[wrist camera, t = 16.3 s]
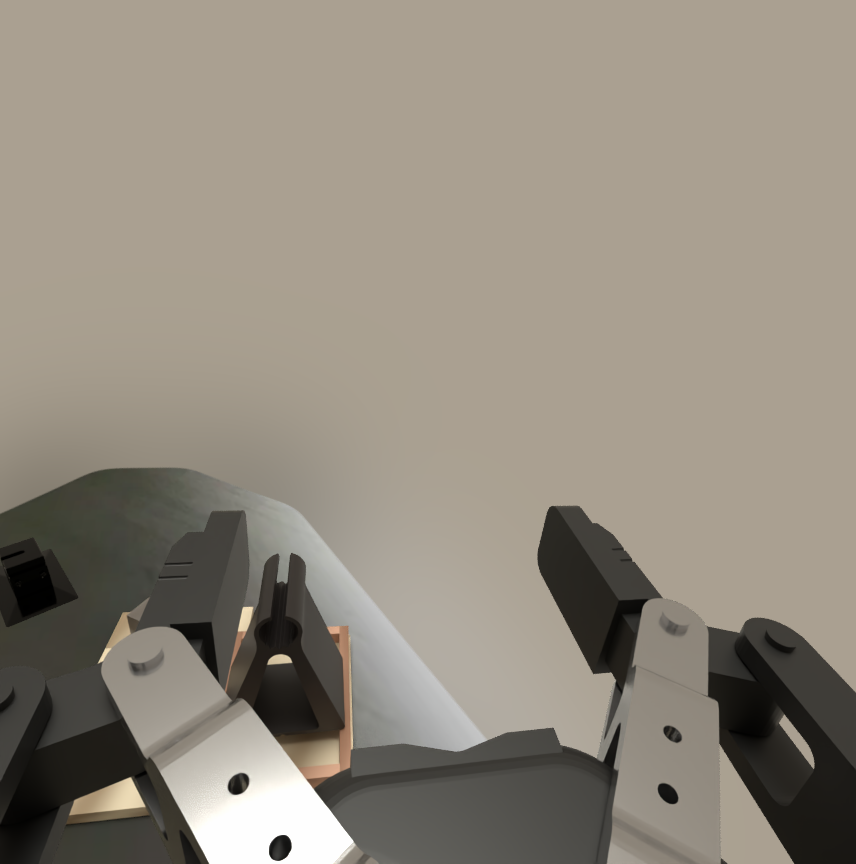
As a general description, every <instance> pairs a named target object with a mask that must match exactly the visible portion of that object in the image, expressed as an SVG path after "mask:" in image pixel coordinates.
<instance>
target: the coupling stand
mask: <svg viewBox="0 0 856 864" xmlns="http://www.w3.org/2000/svg"><path fill="white" fill-rule="evenodd" d="M149 598H150V597H149ZM149 598H148V599H146V600H145V601H144V602H143V603H141V604H140V605H139V606H138V607H136V608H135V609H134V610H133V611H131V612H125V613H123V614H122V616H121V618H120V620H119V622H118V624H117V626H116V628H115V630H114V632H113V634H112V636H111V638H110V640H109V642H108V644H107V646H106V648H105V651H104V653H103V655H102V657H101V659H100V661H99V663H100V662H102V661H104V658H105V657H106V655H107V653H108V652H109V651H110V650H111V649H112V647H113V646H114V645H116V644H117V643H118V642H119V641H121V640H122V639H123V638H125V637H127V636H128V635H130V634H132V633H134V632H135V630H136V627H137V625H138V623H139V621H140V618H141V616H142V614H143V612H144V609H145V607H146V605H147V603H148V600H149ZM253 615H254V612H253V607H243V609H242V614H241V618H240V623H239V628H238V633H237V637H236V642H235V647H234V651H233V656H232V661H231V665H230V670H231V666H232V664H233V661H234V659H235V657H236V654H237V652H238V650H239V647H240V645H241V643H242V640H243V638H244V636H245V634H246V631H247V629H248V627H249V624H250V622H251V620H252V617H253ZM327 628H328V630H329V632H330V634H331V636H332V638H333V640H334V642H335V644H336V646H337V648H338V650H339V652H340V654H341V656H342V658H343V681H344V710H345V728H344V729H342V730H334V731H325V732H316V733H307V734H298V735H289V736H285V735H284V734H283V735H281V736H279V737H274V738H275V739H276V741H277V742H278V743H279V744H280V746H281V747H282V748H283V750H284V751H285V752H286V754H287V755H288V756H289V758H290V759H291V760H292V762H293V763H294V764H295V766H296V767H297V768H298V770H299V771H300V772H301V773H302V775H303V776H304V777H305V779H306V780H307V781H308V783H309V784H310V785H311V787H312V788H313V789H314V788H315V787H316V786H318V785H319V784H320V783H322V782H323V781H325V780H326V779H328V778H329V777H331V776H333V775H335V774H337V773H338V772H341V771H343V770H345V769H348V768H350V756H351V749H353V733H352V694H351V655H350V635H348V626H336V627H327ZM283 663H292V661H291V659H290V657H288V656H286V655H282V654H280V655H275V656H273V657H271V658H270V659H269V661H268V664H267V665H270V664H283ZM230 670H229V675H230ZM229 675H228V679H227V684H226V689H225V693H226V691H227V685H228V680H229ZM146 815H149V813H148V811H147V809H146V807H145V805H144V803H143V801H142V799H141V797H140V795H139V793H138V791H137V789H136V787H135V785H134V783H133V781H132V779H131V777H130V778H127V779H125V780H122V781H120V782H118V783H115V784H113V785H110V786H108V787H105V788H103V789H100V790H98V791H96V792H93V793H91V794H88V795H86V796H83V797H81V798H78V799H76V800H74V803H73V806H72V809H71V812H70V814H69V817H68V820H67V823H66V824H75V823H84V822H93V821H101V820H110V819H119V818H128V817H137V816H146Z"/></svg>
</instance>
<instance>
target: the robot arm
mask: <svg viewBox="0 0 856 864" xmlns="http://www.w3.org/2000/svg"><path fill="white" fill-rule="evenodd" d="M538 566H539V570H540V573H541V575H542V577H543V578H544V580H545V582H546V584H547V586H548V588H549V590H550V592H551V594H552V596H553V598H554V600H555V602H556V603H557V605H558V607H559V609H560V611H561V613H562V615H563V617H564V618H565V621H566V623H567V625H568V626H569V628H570V630H571V632H572V634H573V636H574V638H575V640H576V642H577V644H578V645H579V647H580V649H581V651H582V653H583V655H584V657H585V659H586V661H587V663H588V665H589V666H590V669H591V670H592V672H593V674H599V673H610V672H612V674H613V676H614V677H615V682H614V685H613V688H612V691H611V696H610V700H609V705H608V710H607V714H606V719H605V724H604V729H603V734H602V738H601V742H600V747H599V752H598V755H597V759H596V758H595V757H593V756H591V755H589V754H586V753H584V752H581V751H579V750H577V749H573V748H570V747H566V746H562V745H560V743H559V740H558V738H557V735H556V733H555V730H554V728H546V729H537V730H528V731H519V732H509V733H505V734H502V735H500V736H498V737H495V738H493V739H490V740H488V741H486V742H483V743H481V744H478V745H476V746H474V747H471V748H469V749H466V750H464V751H460V752H453V751H447V750H441V749H434V748H428V747H421V746H415V745H409V744H396V745H387V746H378V747H368V748H359V749H351V756H350V768H348V769H345V770H343V771H341V772H338V773H337V774H335V775H333V776H331V777H329V778H328V779H326V780H325V781H323V782H322V783H320V784H319V785H318V786H316V787H315V788H314V789H313V788H312V787H311V785H310V784H309V783H308V781H307V780H306V779H305V777H304V776H303V775H302V773H301V772H300V771H299V770H298V768H297V767H296V766H295V764H294V763H293V762H292V760H291V759H290V758H289V756H288V755H287V754H286V752H285V751H284V750H283V748H282V747H281V746H280V744H279V743H278V742H277V741H276V739H275V738H274V737H273V735H272V734H271V733H270V731H269V730H268V729H267V727H266V726H265V725H264V723H263V722H262V721H261V719H260V718H259V717H258V716H257V714H256V713H255V712H254V710H253V709H252V708H251V706H250V705H249V704H248V703H247V702H246V701H245V700H244V699H242V698H237V699H236V700H234V701H232V700H231V699H230V698H229V697H228V695H227V694H226V693H225V689H226V684H227V679H228V675H229V670H230V665H231V661H232V656H233V651H234V647H235V642H236V637H237V633H238V628H239V623H240V618H241V614H242V609H243V604H244V600H245V595H246V590H247V586H248V579H249V550H248V537H247V524H246V514H245V511H212V512H211V514H210V517H209V520H208V522H207V525H206V528H205V531H204V532H188V533H186V534H185V535H184V536H183V537H182V538H181V539H180V540H179V541H178V542H177V543H176V544H175V545H173V546H172V548H171V550H170V553H169V555H168V557H167V559H166V562H165V566H163V568H162V571H161V573H160V575H159V580H157V582H156V584H155V587H154V589H153V591H152V593H151V596H150V598H149V600H148V603H147V605H146V607H145V609H144V612H143V614H142V616H141V618H140V621H139V623H138V625H137V627H136V630H135V632H134V633H132V634H130V635H128V636H127V637H125V638H123V639H122V640H121V641H119V642H118V643H117V644H116V645H114V646H113V647H112V649H111V650H110V651H109V652H108V653H107V655H106V657H105V658H104V661H102V662H100V663H98V664H96V665H94V666H91V667H88V668H85V669H82V670H79V671H76V672H73V673H69V674H66V675H63V676H60V677H56V678H53V679H50V680H47V681H45V678H44V676H43V674H42V673H41V672H40V671H39V670H37V669H35V668H32V667H28V666H12V667H6V668H2V669H0V864H52V862H53V859H54V856H55V854H56V851H57V848H58V845H59V842H60V840H61V837H62V834H63V831H64V828H65V826H66V823H67V820H68V817H69V814H70V812H71V809H72V806H73V803H74V800H76V799H78V798H81V797H83V796H86V795H88V794H91V793H93V792H96V791H98V790H100V789H103V788H105V787H108V786H110V785H113V784H115V783H118V782H120V781H122V780H125V779H127V778H130V777H131V779H132V781H133V783H134V785H135V787H136V789H137V791H138V793H139V795H140V797H141V799H142V801H143V803H144V805H145V807H146V809H147V811H148V813H149V815H150V817H151V819H152V821H153V823H154V825H155V827H156V829H157V831H158V833H159V835H160V837H161V839H162V841H163V843H164V845H165V847H166V850H167V852H168V854H169V856H170V858H171V861H172V863H173V864H727V863H726V862H725V861H724V860H723V859H721V847H720V775H719V774H720V771H719V770H720V768H719V744H720V745H721V747H722V748H723V750H724V752H725V753H726V755H727V757H728V758H729V760H730V761H731V763H732V764H733V766H734V768H735V769H736V771H737V773H738V774H739V776H740V777H741V779H742V781H743V782H744V784H745V785H746V787H747V789H748V790H749V792H750V793H751V795H752V797H753V798H754V800H755V801H756V803H757V805H758V806H759V808H760V809H761V811H762V813H763V814H764V816H765V817H766V819H767V821H768V822H769V824H770V825H771V827H772V829H773V830H774V832H775V833H776V835H777V837H778V838H779V840H780V842H781V843H782V845H783V846H784V848H785V849H786V851H787V853H788V854H789V856H790V858H791V859H792V861H793V862H794V864H856V693H855V691H853V689H852V688H851V687H850V686H849V685H848V684H847V683H846V682H845V681H844V680H843V679H842V678H841V677H840V676H839V675H838V674H837V672H836V671H835V670H833V668H832V667H831V666H830V665H829V664H828V663H827V662H826V661H825V660H824V659H823V658H822V657H821V656H820V655H819V654H818V653H817V651H816V650H815V649H814V648H813V647H812V646H811V645H810V644H809V643H808V642H807V641H806V640H805V639H804V638H803V637H802V636H800V635H799V634H798V633H796V632H795V631H793V630H792V629H790V628H788V627H787V626H785V625H783V624H781V623H778V622H776V621H773V620H769V619H765V618H751V619H749V620H747V621H746V622H745V624H744V625H743V627H742V629H741V631H740V633H737V632H732V631H726V630H721V629H717V628H712V627H707V626H706V625H705V623H704V621H703V620H702V619H701V618H700V617H699V616H698V615H697V614H696V613H695V612H694V611H692V610H691V609H689V608H688V607H686V606H684V605H683V604H680V603H678V602H676V601H673V600H668V599H663V598H662V597H661V595H660V594H659V593H658V591H657V590H656V589H655V588H654V586H653V585H652V584H651V582H650V581H649V580H648V579H647V578H646V576H645V575H644V574H643V572H642V571H641V570H640V569H639V567H638V566H637V565H636V563H635V562H632V558H631V557H630V556H629V554H628V553H627V552H626V551H624V549H623V547H622V545H621V544H620V543H619V542H618V540H617V539H616V538H615V536H614V535H613V534H611V533H610V532H609V531H607V530H606V529H604V528H603V527H602V526H600V525H599V524H597V523H592V522H591V521H590V520H589V518H588V517H587V515H586V514H585V513H584V511H583V510H582V509H581V508H580V507H579V506H551V507H550V508H549V509H548V512H547V515H546V519H545V523H544V528H543V532H542V536H541V540H540V544H539V548H538ZM784 714H785V715H786V717H787V718H788V719H789V721H790V722H791V723H792V724H793V726H794V727H795V728H796V730H797V731H798V732H799V733H800V734H801V736H802V737H803V738H804V740H805V741H806V742H807V744H808V745H809V747H810V749H811V751H812V754H813V757H814V763H815V768H814V769H813V768H812V767H811V765H810V764H809V763H808V761H807V760H806V759H805V758H804V756H803V755H802V753H801V752H800V751H799V749H798V748H797V747H796V745H795V744H794V743H793V741H792V740H791V739H790V738H789V736H788V735H787V734H786V732H785V731H784V730H783V728H782V727H781V726H780V724H779V722H780V720H781V718H782V717H783V715H784Z"/></svg>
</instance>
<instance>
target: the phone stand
mask: <svg viewBox="0 0 856 864" xmlns="http://www.w3.org/2000/svg"><path fill="white" fill-rule="evenodd" d="M278 564H279V554H276V555H273V556H272V557H270V558H269V559H268V560H267V561H266V563H265V566H264V572H263V578H262V585H261V591H260V597H259V604H258V606H257V608H256V610H255V613H254V615H253V617H252V620H251V622H250V624H249V627H248V629H247V631H246V634H245V636H244V638H243V640H242V643H241V645H240V647H239V650H238V652H237V654H236V657H235V659H234V661H233V664H232V666H231V670H230V675H229V680H228V685H227V691H226V694H227V695H228V697H229V698H230V699H231V700H232V701H234V700H236V699H237V698H242V699H244V700H245V701H246V702H247V703H248V704H249V705H250V706H251V708H252V709H253V710H254V712H255V713H256V714H257V716H258V717H259V718H260V719H261V721H262V722H263V723H264V725H265V726H266V727H267V729H268V730H269V731H270V733H271V734H272V735H273V737H279V736H281V735H283V734H284V735H285V736H289V735H298V734H307V733H316V732H325V731H334V730H342V729H344V728H345V710H344V681H343V658H342V656H341V654H340V652H339V650H338V648H337V646H336V644H335V642H334V640H333V638H332V636H331V634H330V632H329V630H328V628H327V626H326V624H325V622H324V620H323V618H322V616H321V615H320V613H319V611H318V609H317V607H316V605H315V603H314V601H313V599H312V597H311V595H310V593H309V591H308V589H307V587H306V584H305V575H306V565H305V562H304V561H303V559H302V558H301V557H299V556H298V555H296V554H293V553H291V555H290V562H289V573H288V582H287V583H286V584H285V583H284V582H279V583H277V573H278ZM280 654H282V655H286V656H288V657H290V659H291V661H292V663H283V664H270V665H267V664H268V661H269V659H270V658H271V657H273V656H275V655H280Z"/></svg>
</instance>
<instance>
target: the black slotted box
mask: <svg viewBox="0 0 856 864" xmlns="http://www.w3.org/2000/svg"><path fill="white" fill-rule="evenodd" d="M0 559H1V562H2V565H3V566H0V611H1V614H2V616H3V619H4V622H5V624H6V627H10V626H12V625H14V624H17V623H19V622H22V621H24V620H27V619H29V618H31V617H34V616H36V615H39V614H41V613H44V612H46V611H48V610H51V609H53V608H56V607H58V606H61V605H63V604H65V603H68V602H70V601H73V600H75V599H77V598H78V596H77V594H76V592H75V590H74V589H73V587H72V585H71V583H70V582H69V580H68V578H67V576H66V575H65V573H64V571H63V569H62V568H61V566H60V564H59V562H58V561H57V559H56V557H55V555H54V554H53V552H52V550H51V549H48V550H46V551H43V552H41V550H40V548H39V546H38V544H37V542H36V541H35V539H34V538H30V539H27V540H24V541H21V542H18V543H15V544H12V545H9V546H6V547H3V548H0Z"/></svg>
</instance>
